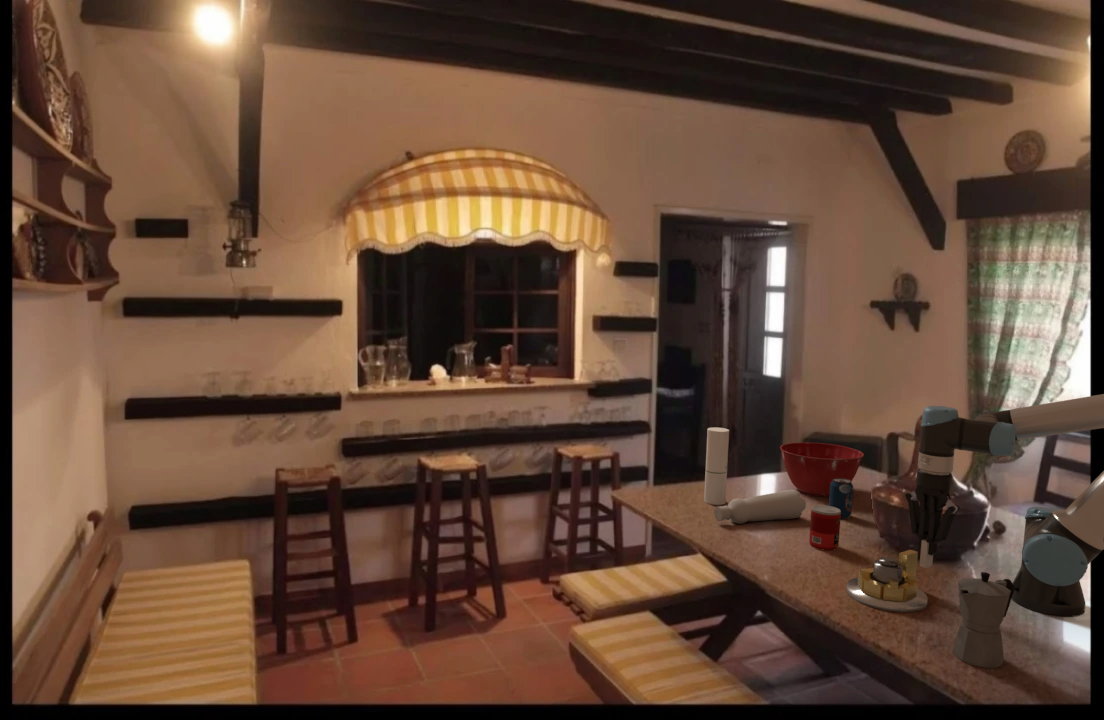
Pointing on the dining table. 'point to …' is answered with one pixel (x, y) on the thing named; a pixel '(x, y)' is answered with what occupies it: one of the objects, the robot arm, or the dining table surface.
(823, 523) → the canned food
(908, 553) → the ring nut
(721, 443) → the cylindrical container
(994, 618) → the coffeepot
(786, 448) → the mixing bowl
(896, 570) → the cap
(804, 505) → the bottle
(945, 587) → the dining table surface
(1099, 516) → the robot arm
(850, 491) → the soda can
